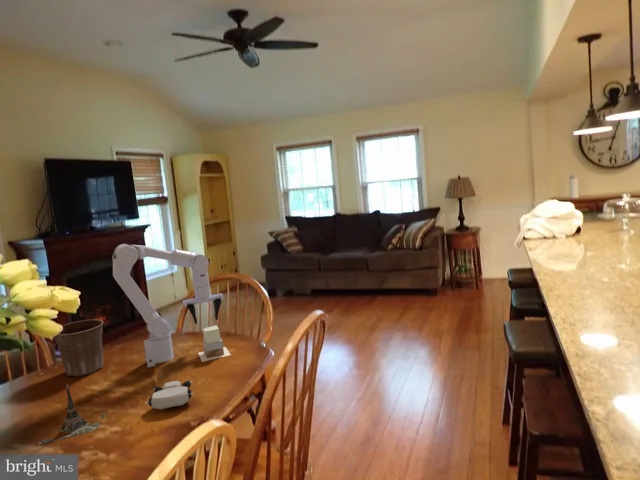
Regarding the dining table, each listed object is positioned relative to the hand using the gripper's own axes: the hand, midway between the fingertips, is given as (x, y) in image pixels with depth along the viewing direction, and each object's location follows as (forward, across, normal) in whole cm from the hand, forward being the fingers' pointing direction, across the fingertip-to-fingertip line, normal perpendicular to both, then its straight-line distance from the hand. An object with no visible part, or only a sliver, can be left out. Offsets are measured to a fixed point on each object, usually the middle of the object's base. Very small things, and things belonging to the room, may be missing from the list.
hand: (206, 321), depth 174 cm
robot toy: (+11, -17, -39) cm, 44 cm away
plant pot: (+11, -43, +6) cm, 45 cm away
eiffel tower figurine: (+11, -42, -40) cm, 59 cm away
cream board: (+10, 0, -10) cm, 14 cm away
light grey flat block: (+7, 0, -10) cm, 12 cm away
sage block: (+5, 0, -10) cm, 11 cm away
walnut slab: (+10, 0, -10) cm, 14 cm away
